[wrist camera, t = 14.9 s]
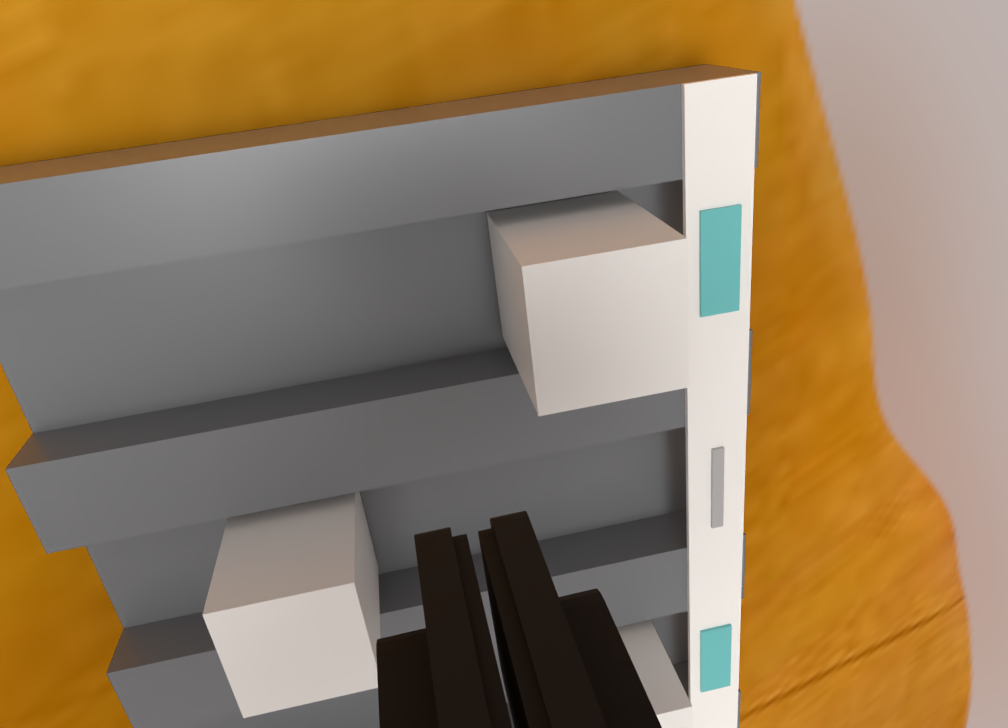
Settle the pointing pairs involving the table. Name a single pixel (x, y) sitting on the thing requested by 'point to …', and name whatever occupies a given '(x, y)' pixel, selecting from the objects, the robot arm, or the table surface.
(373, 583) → the switch tab middle
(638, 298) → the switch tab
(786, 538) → the table surface
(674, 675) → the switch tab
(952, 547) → the table surface
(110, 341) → the switch panel
